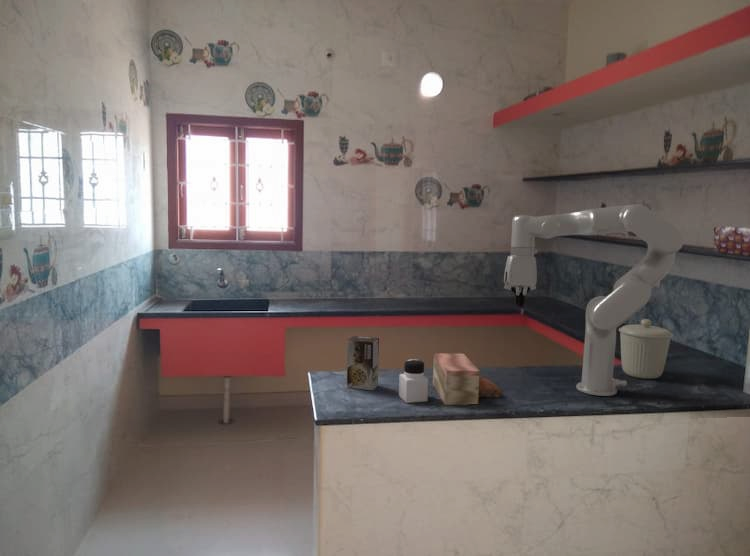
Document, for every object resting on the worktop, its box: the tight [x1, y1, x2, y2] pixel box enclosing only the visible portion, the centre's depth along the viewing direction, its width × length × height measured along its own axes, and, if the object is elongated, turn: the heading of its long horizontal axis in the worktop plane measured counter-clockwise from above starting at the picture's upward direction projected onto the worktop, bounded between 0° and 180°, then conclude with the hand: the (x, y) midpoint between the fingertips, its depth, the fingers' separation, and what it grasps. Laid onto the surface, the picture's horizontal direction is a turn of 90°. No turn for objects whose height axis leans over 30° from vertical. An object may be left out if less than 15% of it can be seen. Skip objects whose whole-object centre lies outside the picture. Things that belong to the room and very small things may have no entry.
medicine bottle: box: [398, 358, 430, 404], centre depth 176 cm, size 7×7×12 cm
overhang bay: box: [432, 352, 481, 406], centre depth 182 cm, size 10×21×10 cm, turn 5°
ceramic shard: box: [478, 376, 503, 399], centre depth 185 cm, size 15×6×15 cm
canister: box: [618, 318, 674, 380], centre depth 210 cm, size 18×18×21 cm
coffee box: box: [346, 335, 380, 391], centre depth 187 cm, size 9×6×16 cm
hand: (519, 306), depth 194 cm, fingers closed
